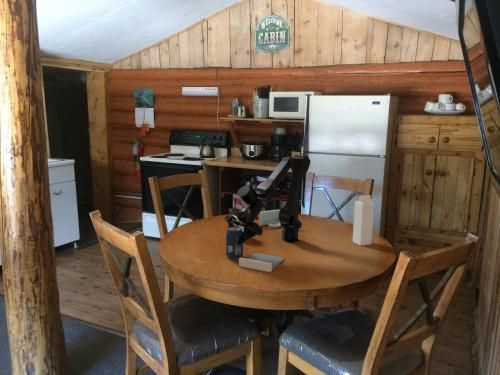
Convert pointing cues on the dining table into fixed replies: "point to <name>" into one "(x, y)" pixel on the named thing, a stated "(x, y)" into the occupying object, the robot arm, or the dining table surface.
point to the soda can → (234, 243)
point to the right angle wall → (270, 218)
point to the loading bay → (260, 262)
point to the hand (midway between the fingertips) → (232, 242)
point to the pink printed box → (238, 202)
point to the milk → (363, 220)
